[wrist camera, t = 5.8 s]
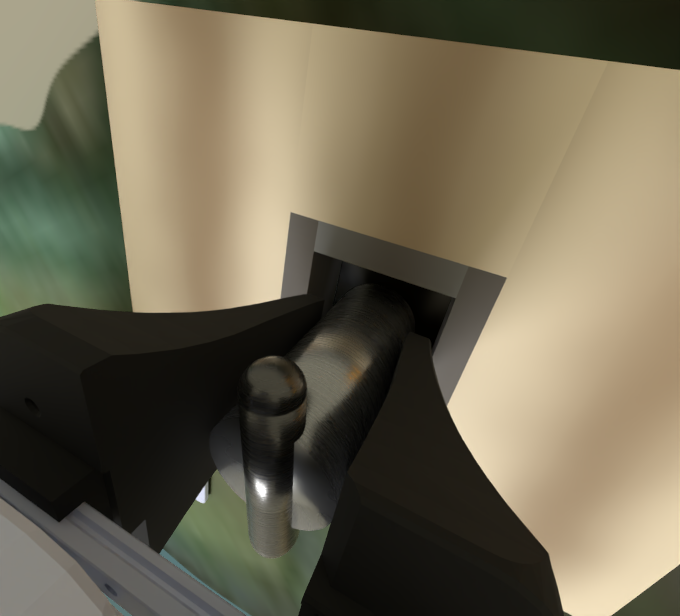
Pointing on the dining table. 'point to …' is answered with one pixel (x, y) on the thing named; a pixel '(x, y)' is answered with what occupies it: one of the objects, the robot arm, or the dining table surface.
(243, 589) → the dining table surface
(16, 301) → the dining table surface
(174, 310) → the block
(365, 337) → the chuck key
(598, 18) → the dining table surface
